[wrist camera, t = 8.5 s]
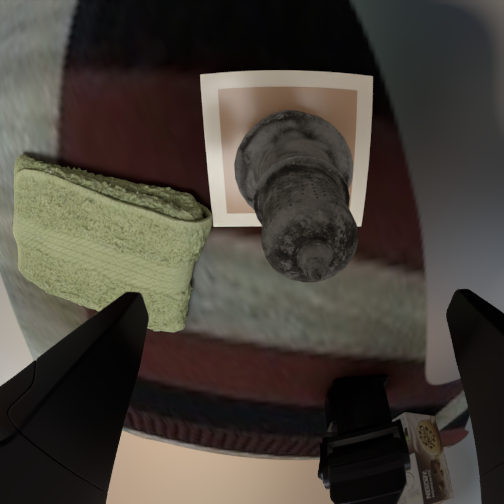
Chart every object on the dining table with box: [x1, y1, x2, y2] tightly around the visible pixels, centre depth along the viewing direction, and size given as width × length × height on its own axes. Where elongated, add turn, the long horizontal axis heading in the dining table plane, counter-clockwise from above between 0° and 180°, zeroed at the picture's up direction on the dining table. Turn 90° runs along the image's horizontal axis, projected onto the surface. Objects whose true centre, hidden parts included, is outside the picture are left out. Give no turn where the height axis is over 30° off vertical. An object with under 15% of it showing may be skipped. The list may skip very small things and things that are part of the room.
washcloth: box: [13, 154, 212, 332], centre depth 21 cm, size 13×18×3 cm
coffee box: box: [392, 412, 454, 504], centre depth 31 cm, size 9×6×16 cm
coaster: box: [200, 70, 373, 227], centre depth 18 cm, size 10×10×1 cm
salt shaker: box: [234, 110, 358, 282], centre depth 12 cm, size 6×6×12 cm
